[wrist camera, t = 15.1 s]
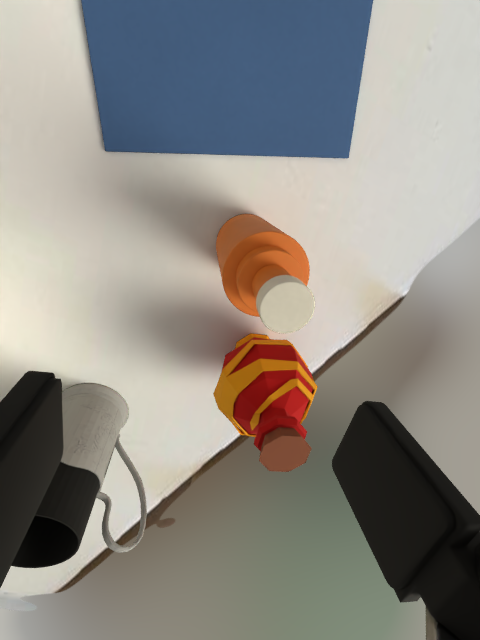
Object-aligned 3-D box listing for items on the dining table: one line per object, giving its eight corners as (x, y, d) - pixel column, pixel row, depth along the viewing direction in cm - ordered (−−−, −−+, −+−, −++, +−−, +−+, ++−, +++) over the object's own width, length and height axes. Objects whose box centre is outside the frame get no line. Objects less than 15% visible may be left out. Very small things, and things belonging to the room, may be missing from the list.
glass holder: (77, 371, 34) (-3, 494, 21) (177, 423, 39) (163, 548, 26) (42, 417, 36) (-52, 555, 23) (140, 460, 42) (110, 594, 28)
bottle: (210, 268, 31) (218, 351, 16) (222, 207, 28) (244, 237, 13) (266, 279, 32) (321, 364, 17) (282, 221, 29) (362, 263, 15)
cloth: (106, 151, 25) (105, 151, 25) (51, -194, 17) (49, -200, 17) (347, 158, 28) (348, 158, 27) (393, -142, 20) (396, -147, 20)
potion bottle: (243, 298, 33) (271, 380, 19) (311, 339, 36) (375, 433, 23) (195, 366, 36) (191, 477, 22) (262, 397, 39) (293, 510, 26)
